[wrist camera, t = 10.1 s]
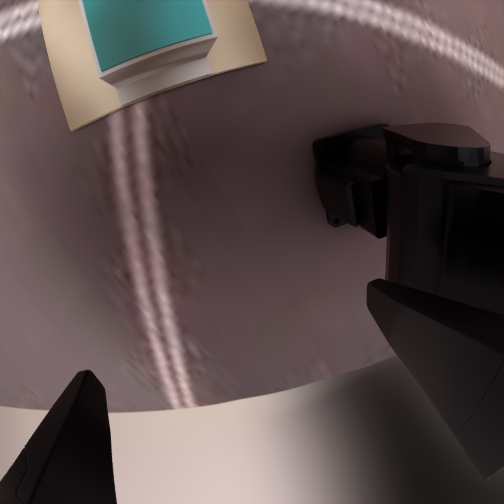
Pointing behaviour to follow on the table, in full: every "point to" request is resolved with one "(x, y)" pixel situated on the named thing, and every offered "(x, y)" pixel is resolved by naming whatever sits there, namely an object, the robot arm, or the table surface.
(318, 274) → the table surface
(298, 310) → the table surface
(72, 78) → the cream and teal bracket
